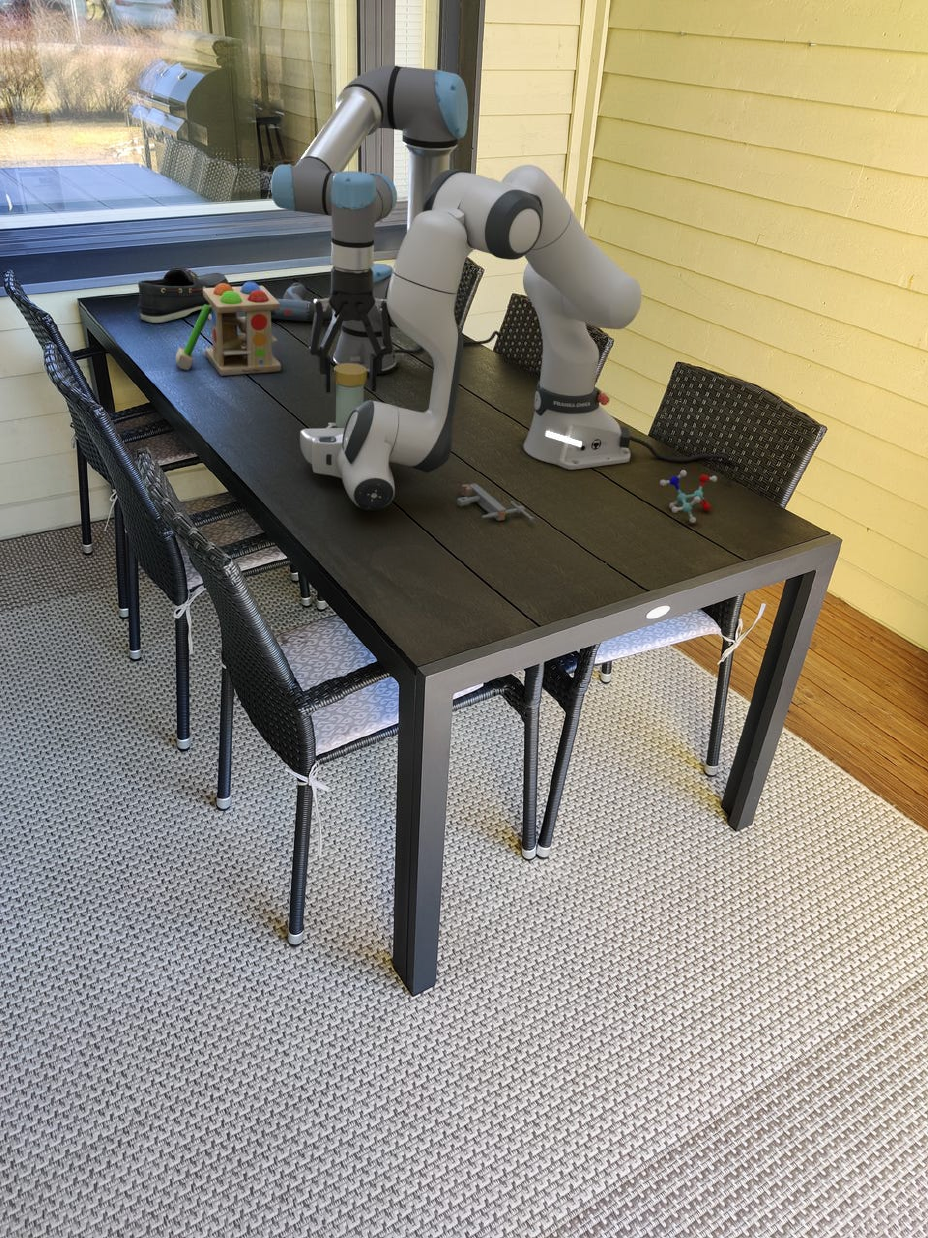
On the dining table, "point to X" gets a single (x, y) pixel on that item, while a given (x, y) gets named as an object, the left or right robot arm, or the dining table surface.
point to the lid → (350, 374)
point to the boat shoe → (175, 294)
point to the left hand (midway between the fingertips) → (350, 389)
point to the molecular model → (683, 497)
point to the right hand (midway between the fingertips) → (348, 425)
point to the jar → (347, 402)
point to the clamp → (488, 503)
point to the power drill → (298, 306)
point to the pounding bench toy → (229, 347)
